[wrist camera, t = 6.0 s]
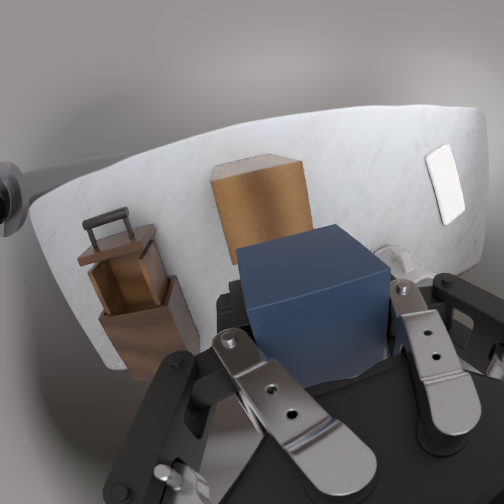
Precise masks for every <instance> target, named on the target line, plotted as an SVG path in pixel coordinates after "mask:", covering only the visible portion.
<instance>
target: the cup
mask: <svg viewBox="0 0 504 504" xmlns="http://www.w3.org/2000/svg"><path fill="white" fill-rule="evenodd" d="M374 255H376V256H377V257H378V258H379V259H381V260H382V261H383V262H384V263H385V264H387V265H388V266H389V267H390V268H391V274H392V275H393V276H394V277H395V278H397V279H408V280H411V281H413V282H414V283H416V285H417V286H418V287H424V286H431V285H432V283H433V278H434V277H435V276H436V275H435V274H433V273H431V272H430V271H428V270H426V269H425V268H423V267H422V266H420V265H418V264H417V263H415V262H414V261H412V256H411V255H410V253H409V252H408V251H407V250H405V249H403V248H401V247H399V246H386V247H383V248H381V249H379V250H378V251H376V252H375V253H374Z"/></svg>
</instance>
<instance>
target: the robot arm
mask: <svg viewBox="0 0 504 504" xmlns="http://www.w3.org/2000/svg"><path fill="white" fill-rule="evenodd" d="M12 206H13V200H12V194H11V190H10V188H9V186H8V184H7V183H6V181H5V180H3V179H2V178H0V224H3V223H5V222H6V221H7V220H8V219H9V218H10V216H11V213H12ZM229 290H230V293H226V294H222V295H220V297H219V298H218V300H217V302H216V307H217V335H216V336H215V337H214V338H213V340H212V346H211V347H210V348H209V349H207V350H206V351H204V352H202V353H199V354H197V355H195V356H193V354H192V353H191V352H189V351H186V350H178V351H175V352H172V353H170V354H168V355H167V356H166V357H165V358H164V359H163V360H162V362H161V364H160V366H159V368H158V370H157V372H156V374H155V376H154V378H153V380H152V382H151V384H150V386H149V388H148V391H147V393H146V395H145V397H144V399H143V401H142V403H141V405H140V407H139V409H138V412H137V414H136V416H135V418H134V420H133V422H132V425H131V427H130V429H129V431H128V433H127V435H126V438H125V440H124V442H123V444H122V446H121V449H120V451H119V453H118V455H117V458H116V460H115V462H114V465H113V467H112V469H111V472H110V474H109V476H108V479H107V481H106V483H105V486H104V488H103V498H104V501H105V503H106V504H212V503H211V502H210V499H209V485H208V483H207V481H206V480H205V479H204V478H203V477H201V476H200V475H199V474H198V473H199V470H200V466H201V462H202V459H203V455H204V451H205V447H206V444H207V439H208V436H209V432H210V428H211V425H212V421H213V417H214V414H215V410H216V406H217V402H219V401H221V400H223V399H225V398H227V397H229V396H231V395H233V394H235V396H236V397H237V399H238V401H239V402H240V404H241V405H242V407H243V409H244V410H245V412H246V413H247V414H248V416H249V418H250V419H251V421H252V423H253V424H254V426H255V428H256V429H257V431H258V433H259V434H260V436H261V437H262V440H261V442H260V443H259V445H258V446H257V448H256V450H255V451H254V453H253V454H252V456H251V457H250V459H249V461H248V462H247V464H246V465H245V467H244V468H243V470H242V471H241V472H240V474H239V476H238V477H237V479H236V480H235V481H234V483H233V484H232V485H231V487H230V488H229V490H228V491H227V493H226V494H225V495H224V497H223V498H222V499H221V501H220V502H219V503H218V504H504V300H502V299H501V298H499V297H497V296H495V295H493V294H491V293H489V292H487V291H485V290H483V289H481V288H479V287H477V286H475V285H473V284H471V283H469V282H467V281H465V280H463V279H461V278H459V277H457V276H455V275H453V274H449V273H441V274H438V275H436V276H435V277H434V278H433V283H432V285H431V286H424V287H418V286H417V285H416V283H414V282H413V281H411V280H408V279H397V278H395V277H394V276H393V275H392V274H391V280H390V299H389V313H388V324H387V334H386V342H385V347H386V351H387V357H388V359H385V360H383V361H381V362H378V363H377V364H376V365H374V366H373V367H371V368H370V369H368V370H367V371H365V372H364V373H362V374H361V375H359V376H358V377H356V378H351V379H344V380H337V381H329V382H324V383H320V384H317V385H314V386H311V387H307V388H303V387H302V386H301V385H300V384H299V383H298V382H297V381H296V380H295V379H294V378H293V377H292V376H291V375H290V374H289V372H288V371H287V370H286V369H285V368H284V367H283V366H282V365H281V364H280V363H279V362H278V360H277V359H275V358H274V357H270V358H269V359H268V358H267V356H266V355H265V354H264V353H263V352H262V351H261V349H260V348H259V347H258V346H257V345H256V342H255V339H254V335H253V332H252V329H251V325H250V322H249V318H248V315H247V312H246V307H245V301H244V296H243V290H242V284H241V279H240V280H236V281H232V282H229ZM456 309H457V310H459V311H461V312H462V313H464V314H466V315H468V316H469V317H471V318H472V320H473V322H474V327H473V330H471V329H470V328H468V327H466V326H465V325H463V324H462V323H460V322H458V321H457V320H455V319H453V318H454V314H455V310H456ZM458 357H460V358H461V359H463V360H464V361H466V362H467V363H468V364H470V365H471V366H473V367H474V368H475V369H477V370H478V371H480V372H481V373H483V374H484V375H482V374H478V373H475V372H471V371H468V370H464V369H463V368H462V366H461V363H460V361H459V358H458Z"/></svg>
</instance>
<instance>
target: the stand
mask: <svg viewBox="0 0 504 504" xmlns="http://www.w3.org/2000/svg"><path fill="white" fill-rule="evenodd" d="M211 185H212V189H213V193H214V197H215V201H216V205H217V208H218V212H219V216H220V220H221V223H222V227H223V231H224V235H225V238H226V242H227V246H228V249H229V253H230V257H231V260H232V264H233V265H236V264H238V262H237V256H236V249H239V248H242V247H246V246H250V245H254V244H258V243H262V242H266V241H270V240H274V239H278V238H282V237H286V236H290V235H294V234H298V233H302V232H306V231H310V230H313V224H312V218H311V211H310V205H309V199H308V193H307V187H306V181H305V175H304V170H303V164H302V161H299V160H295V159H291V158H287V157H282V156H278V155H273V154H265V155H260V156H255V157H251V158H246V159H242V160H238V161H234V162H229V163H225V164H221V165H217V166H214V170H213V174H212V178H211Z"/></svg>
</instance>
